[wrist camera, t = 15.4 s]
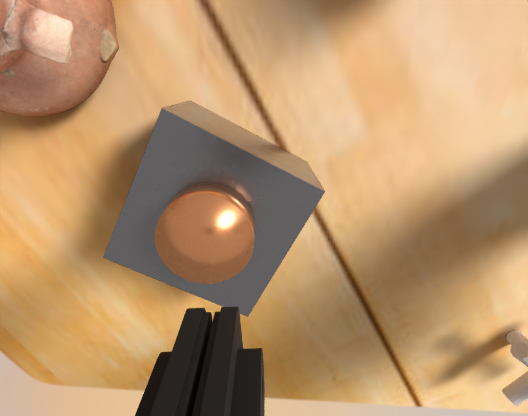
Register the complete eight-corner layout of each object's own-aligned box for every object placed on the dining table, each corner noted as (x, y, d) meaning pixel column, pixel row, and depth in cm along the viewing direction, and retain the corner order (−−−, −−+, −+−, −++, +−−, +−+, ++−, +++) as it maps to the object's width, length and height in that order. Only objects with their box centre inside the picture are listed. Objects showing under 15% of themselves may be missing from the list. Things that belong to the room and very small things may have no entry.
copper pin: (267, 177, 30) (271, 222, 20) (237, 232, 32) (228, 297, 22) (204, 145, 29) (177, 177, 19) (177, 204, 31) (140, 260, 21)
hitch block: (307, 161, 31) (325, 191, 22) (250, 259, 35) (247, 316, 26) (190, 100, 29) (161, 108, 20) (143, 212, 32) (103, 257, 24)
